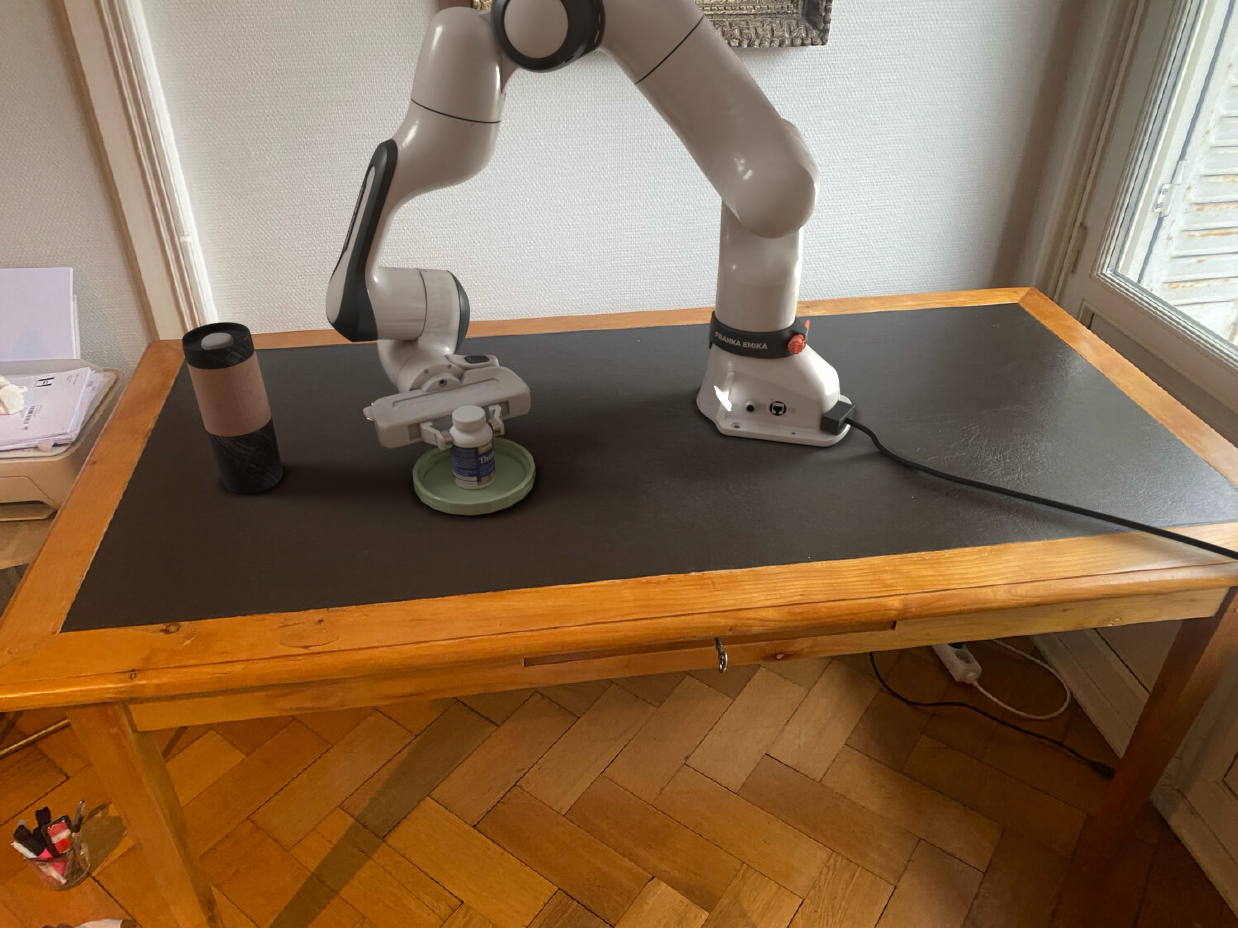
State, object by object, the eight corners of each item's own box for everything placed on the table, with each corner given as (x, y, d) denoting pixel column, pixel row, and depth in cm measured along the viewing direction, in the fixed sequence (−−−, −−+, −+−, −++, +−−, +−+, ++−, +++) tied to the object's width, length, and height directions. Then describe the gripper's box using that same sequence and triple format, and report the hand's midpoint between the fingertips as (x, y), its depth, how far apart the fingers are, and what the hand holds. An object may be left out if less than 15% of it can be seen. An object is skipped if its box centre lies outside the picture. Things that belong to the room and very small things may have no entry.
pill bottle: (488, 493, 110) (482, 427, 105) (447, 488, 111) (439, 421, 106) (501, 469, 115) (496, 404, 109) (462, 464, 115) (455, 399, 110)
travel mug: (297, 468, 115) (264, 327, 104) (259, 500, 109) (220, 355, 98) (248, 456, 117) (211, 317, 106) (208, 488, 111) (164, 344, 100)
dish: (555, 464, 116) (554, 451, 115) (497, 529, 105) (496, 516, 104) (455, 438, 121) (454, 426, 120) (390, 498, 110) (388, 485, 108)
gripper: (355, 385, 112) (386, 436, 102) (504, 352, 121) (547, 396, 111) (362, 427, 116) (394, 481, 106) (507, 392, 124) (549, 439, 114)
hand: (473, 437), depth 108 cm, fingers closed on pill bottle, 5 cm apart
